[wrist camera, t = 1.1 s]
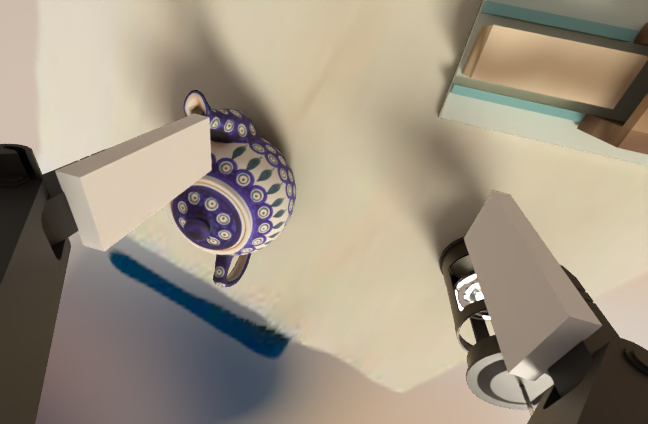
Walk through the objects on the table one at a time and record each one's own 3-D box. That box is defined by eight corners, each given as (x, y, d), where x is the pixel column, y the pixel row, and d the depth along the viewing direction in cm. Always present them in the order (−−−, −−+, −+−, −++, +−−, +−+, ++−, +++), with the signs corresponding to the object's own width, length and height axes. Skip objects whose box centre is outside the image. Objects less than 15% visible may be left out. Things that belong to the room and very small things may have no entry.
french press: (498, 295, 42) (588, 510, 23) (431, 284, 44) (463, 478, 24) (530, 229, 36) (690, 445, 17) (452, 219, 38) (515, 407, 18)
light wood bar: (480, 27, 27) (493, 24, 23) (616, 54, 26) (649, 56, 22) (461, 73, 29) (471, 78, 25) (586, 101, 28) (613, 109, 24)
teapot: (298, 253, 46) (263, 332, 34) (211, 233, 48) (148, 301, 35) (314, 87, 33) (266, 117, 20) (193, 67, 34) (81, 83, 22)
